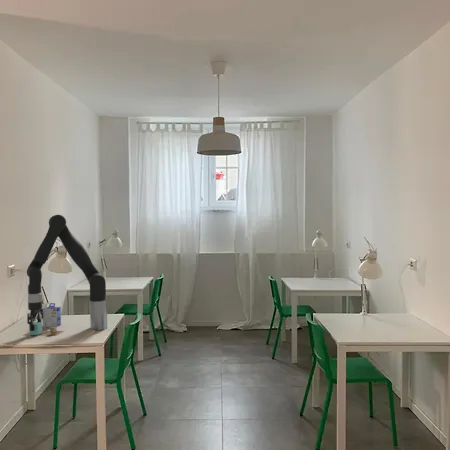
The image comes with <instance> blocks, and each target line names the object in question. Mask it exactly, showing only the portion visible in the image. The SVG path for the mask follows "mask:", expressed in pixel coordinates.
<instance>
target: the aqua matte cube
mask: <svg viewBox="0 0 450 450" xmlns="http://www.w3.org/2000/svg"><path fill="white" fill-rule="evenodd" d="M28 329H29V330H28V331H29V332H28V333H29V335H39V334H41V333H42V331H43V321H41V322H37V321H35V322H34V331H30V324H28Z"/></svg>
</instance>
